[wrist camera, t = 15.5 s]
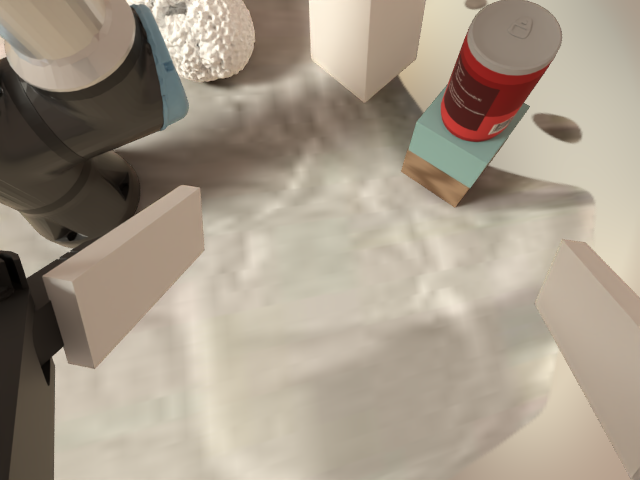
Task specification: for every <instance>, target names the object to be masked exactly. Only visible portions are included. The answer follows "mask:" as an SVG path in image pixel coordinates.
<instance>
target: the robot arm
mask: <svg viewBox="0 0 640 480" xmlns="http://www.w3.org/2000/svg"><path fill="white" fill-rule="evenodd" d="M0 36H1V37H2V38H3V39H4V47H5V53H6V57H5V58H3V59H0V203H2V204H4V205H6V206H9V207H11V208H13V209H15V210H17V211H19V212H20V213H21V214H22V216H23V217H24V218H25V219H26V220H27V221H28V222H29V223H30V224H31V225H32V227H33V228H34V229H35V230H36V231H37V232H38V233H39V234H40V235H42V236H43V237H45V238H46V239H48V240H50V241H52V242H55V243H57V244H59V245H62V246H65V247H69V248H74V249H72V250H71V252H70V253H69V252H68V253H66V254H64V255H63V256H61V257H60V259H59V260H58V259H56V260H55V261H53V262H52V263H50V264H49V265H47V266H45V267H44V268H42V269H41V270H39V271H38V272H36V273H34V274H33V275H31V276H30V277H28V278H27V279H26V276H25V273H24V270H23V267H22V264H21V261H20V258H19V256H18V254H16V253H14V252H11V251H0V480H54V415H55V365H54V362H53V359H52V356H53V355H54V354H56V353H57V352H58V351H59V350H60V349H61V348H62V347H64V351H65V354H66V357H67V360H68V363H69V364H74V365H79V366H83V367H88V368H93V369H95V368H96V367H97V366H98V365H99V364H100V363H101V362H102V361H103V360H104V358H105V357H106V356H107V355H108V354H109V353H110V352H111V351H112V350H113V349H114V348H115V347H116V345H117V344H118V343H119V342H120V341H121V340H122V339H123V338H124V337H125V336H126V335H127V334H128V332H129V331H130V330H131V329H132V328H133V327H134V326H135V325H136V324H137V323H138V322H139V321H140V319H141V318H142V317H143V316H144V315H145V314H146V313H147V312H148V311H149V310H150V309H151V308H152V306H153V305H154V304H155V303H156V302H157V301H158V300H159V299H160V298H161V297H162V296H163V295H164V293H165V292H166V291H167V290H168V289H169V288H170V287H171V286H172V285H173V284H174V283H175V282H176V280H177V279H178V278H179V277H180V276H181V275H182V274H183V273H184V272H185V271H186V270H187V269H188V267H189V266H190V265H191V264H192V263H193V262H194V261H195V260H196V259H197V258H198V257H199V256H200V254H201V253H202V252H203V251H204V237H203V221H202V206H201V191H200V187H194V186H187V185H180V186H179V187H177V188H176V189H174V190H173V191H171V192H170V193H168V194H167V195H165V196H164V197H162V198H160V199H159V200H157V201H156V202H154V203H153V204H151V205H150V206H148V207H147V208H145V209H144V210H142V211H141V212H139V213H138V214H136V215H135V216H133V214H134V213H135V210H136V208H137V205H138V202H139V197H140V185H139V180H138V177H137V175H136V173H135V171H134V169H133V168H132V167H131V166H130V165H129V164H128V163H127V162H126V161H125V160H124V159H123V158H122V157H121V156H119V155H118V154H117V153H115V152H113V151H111V150H113V149H116V148H118V147H121V146H123V145H126V144H128V143H130V142H133V141H135V140H138V139H140V138H143V137H145V136H148V135H150V134H153V133H155V132H157V131H162V130H164V129H166V127H167V126H168V125H170V124H172V123H175V122H177V121H179V120H181V119H182V118H184V117H185V116H186V115H187V113H188V109H189V103H188V100H187V97H186V94H185V91H184V88H183V86H182V83H181V80H180V78H179V76H178V73H177V71H176V68H175V66H174V65H173V61H172V59H171V56H170V54H169V51H168V48H167V46H166V44H165V41H164V39H163V36H162V34H161V32H160V30H159V27H158V25H157V23H156V21H155V18H154V16H153V14H152V12H151V10H150V9H149V8H148V7H147V6H146V5H143V4H139V5H136V4H132V5H129V4H128V3H127V2H126V0H0ZM132 216H133V217H132ZM535 305H536V307H537V309H538V311H539V313H540V315H541V316H542V318H543V320H544V322H545V324H546V325H547V327H548V329H549V331H550V333H551V335H552V336H553V338H554V340H555V342H556V344H557V346H558V347H559V349H560V351H561V353H562V354H563V356H564V358H565V360H566V362H567V364H568V366H569V367H570V369H571V371H572V373H573V375H574V376H575V378H576V380H577V382H578V383H579V386H580V387H581V389H582V391H583V393H584V395H585V397H586V398H587V400H588V402H589V404H590V406H591V407H592V409H593V411H594V413H595V415H596V417H597V418H598V420H599V422H600V424H601V426H602V428H603V429H604V431H605V433H606V435H607V437H608V438H609V440H610V442H611V444H612V446H613V448H614V449H615V451H616V453H617V455H618V457H619V459H620V460H621V462H622V464H623V466H624V468H625V470H626V471H627V473H628V475H629V477H630V479H634V480H640V298H639V297H638V296H637V295H636V294H635V293H634V292H633V290H631V288H630V287H629V286H628V285H627V284H626V283H625V282H624V281H623V280H622V279H621V278H620V277H619V276H618V275H617V274H616V273H615V272H614V271H613V270H612V269H611V268H610V267H609V266H608V265H607V264H606V263H605V262H604V261H603V260H602V259H601V258H600V257H599V256H598V255H597V254H596V253H595V252H594V251H593V250H592V249H591V247H590V246H589V245H588V244H587V243H585V242H578V241H571V240H564V239H562V241H561V243H560V245H559V248H558V250H557V252H556V255H555V257H554V259H553V262H552V264H551V266H550V269H549V271H548V273H547V276H546V278H545V281H544V283H543V285H542V288H541V290H540V292H539V295H538V297H537V299H536V302H535Z"/></svg>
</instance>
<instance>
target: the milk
mask: <svg viewBox="0 0 640 480" xmlns="http://www.w3.org/2000/svg"><path fill="white" fill-rule="evenodd" d="M425 1H426V0H309V15H310V41H311V60H312V61H314V62H315V63H316V64H317V65H318V66H320V67H321V68H322V69H323V70H325V71H326V72H327V73H328V74H329V75H331V76H332V77H333V78H334V79H336V80H337V81H338V82H339V83H340V84H342V85H343V86H344V87H345V88H347V89H348V90H349V91H350V92H351V93H353V94H354V95H355V96H356V97H358V98H359V99H360V100H361V101H362V102H364V103H365V102H366V101H368V100H369V99H370V98H371V97H372V96H374V95H375V94H376V93H377V92H378V91H379V90H381V89H382V88H383V87H384V86H385V85H386V84H388V83H389V82H390V81H391V80H392V79H393V78H395V77H396V76H397V75H398V74H399V73H400V72H401V71H403V70H404V69H405V68H406V67H407V66H408V65H410V64H411V63H412V62H413V61H414V60H415V59H416V57H417V50H418V44H419V38H420V32H421V26H422V20H423V13H424V7H425Z"/></svg>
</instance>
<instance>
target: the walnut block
mask: <svg viewBox="0 0 640 480" xmlns="http://www.w3.org/2000/svg"><path fill="white" fill-rule="evenodd" d="M507 139H508V138H507ZM507 139H506V140H507ZM504 143H505V142H504ZM504 143H503V144H504ZM502 146H503V145H502ZM502 146H501V147H502ZM501 147H500V148H501ZM408 149H409V148H408ZM499 150H500V149H499ZM499 150H498V151H499ZM498 151H497V152H498ZM496 154H497V153H496ZM496 154H495V155H496ZM495 155H494V157H495ZM494 157H493V158H494ZM493 158H492V159H493ZM492 159H491V161H492ZM491 161H490V162H491ZM490 162H489V163H490ZM488 165H489V164H488ZM488 165H487V166H488ZM487 166H486V167H487ZM485 169H486V168H485ZM485 169H484V170H485ZM484 170H483V171H484ZM401 172H403V173H404V174H406V175H407V176H409V177H410V178H412V179H413V180H415V181H416V182H418V183H419V184H421V185H422V186H424V187H425V188H427V189H428V190H430V191H431V192H432V193H434V194H435V195H437V196H438V197H440V198H441V199H443V200H444V201H446V202H447V203H449V204H450V205H452V206H453V207H456V206H457V204H458V203H459V202H460V201H461V199H462V198H463V197H464V195H465V194H466V193H467V192H468V190H469V189H470V188H469V187H467V186H465V185H464V184H462V183H461V182H459V181H457V180H456V179H454V178H453V177H451V176H449V175H448V174H446V173H445V172H443V171H441V170H440V169H438V168H437V167H435V166H433V165H432V164H430V163H429V162H427V161H425V160H424V159H422V158H421V157H419V156H417V155H416V154H414V153H413V152H411V151H409V150H407V153H406V157H405V160H404V163H403V167H402V170H401ZM481 174H482V173H481ZM481 174H480V175H481ZM478 178H479V177H478ZM478 178H477V179H478ZM474 183H475V182H474ZM471 187H472V186H471Z"/></svg>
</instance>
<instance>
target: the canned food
mask: <svg viewBox="0 0 640 480" xmlns="http://www.w3.org/2000/svg"><path fill="white" fill-rule="evenodd" d="M561 41H562V31H561V28H560V25H559V23H558V22H557V20H556V18H555V17H554V16H553V15H552V14H551V13H550V12H549V11H548V10H546V9H545V8H543V7H541V6H539V5H538V4H535V3H532V2H529V1H525V0H501V1H498V2H494V3H492V4H490V5H487V6H486V7H484V8H483V9H482V10H480V11H479V13H478V14H477V15H476V16H475V18H474V19H473V21H472V23H471V25H470V27H469V29H468V32H467V35H466V37H465V39H464V42H463V45H462V47H461V50H460V53H459V55H458V58H457V61H456V64H455V66H454V69H453V72H452V74H451V77H450V80H449V83H448V85H447V88H446V91H445V93H444V96H443V99H442V102H441V117H442V121H443V123H444V125H445V127H446V128H447V130H448V131H449V132H450V133H451V134H453V135H454V136H456V137H457V138H460V139H462V140H465V141H470V142H481V141H486V140H489V139H491V138H493V137H495V136H497V135H498V134H500V133H501V132H502V131H503V130H504V129H505V128H506V127H507V126H508V125H509V123H510V122H511V120H512V119H513V117H514V116H515V114H516V113H517V112H518V110H519V109H520V107H521V106H522V104H523V103H524V102H525V100H526V99H527V97H528V95H529V94H530V93H531V91H532V90H533V89H534V87H535V86H536V84H537V83H538V81H539V80H540V78H541V77H542V76H543V74H544V73H545V71H546V70H547V68H548V67H549V65H550V63H551V62H552V61H553V59H554V58H555V56H556V54H557V52H558V50H559V48H560V46H561Z"/></svg>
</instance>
